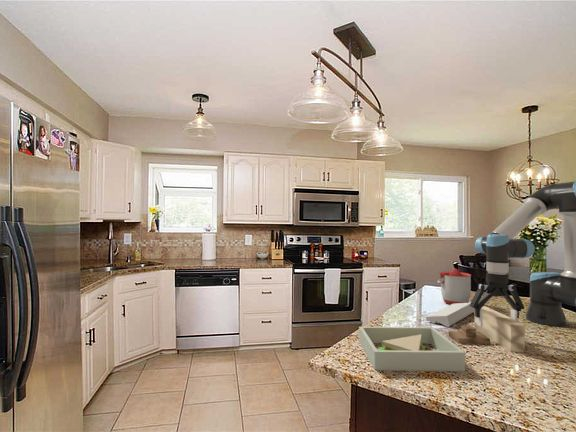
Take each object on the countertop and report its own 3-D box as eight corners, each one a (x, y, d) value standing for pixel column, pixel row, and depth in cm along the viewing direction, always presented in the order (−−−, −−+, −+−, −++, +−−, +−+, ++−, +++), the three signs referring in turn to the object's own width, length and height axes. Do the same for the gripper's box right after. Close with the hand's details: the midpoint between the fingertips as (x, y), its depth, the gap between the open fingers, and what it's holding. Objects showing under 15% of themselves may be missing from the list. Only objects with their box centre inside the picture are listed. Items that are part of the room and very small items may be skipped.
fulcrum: (477, 336, 131) (477, 323, 131) (490, 343, 123) (490, 330, 123) (448, 335, 131) (448, 323, 131) (458, 343, 123) (458, 330, 123)
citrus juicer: (433, 299, 190) (433, 265, 190) (464, 300, 188) (464, 266, 188) (442, 306, 175) (442, 270, 175) (476, 307, 172) (476, 270, 173)
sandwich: (448, 358, 111) (448, 343, 111) (411, 371, 101) (411, 355, 101) (411, 343, 124) (411, 330, 124) (375, 353, 114) (375, 339, 114)
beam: (486, 329, 139) (486, 306, 139) (524, 352, 115) (524, 324, 115) (474, 329, 140) (474, 306, 140) (510, 352, 116) (510, 324, 116)
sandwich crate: (432, 342, 124) (432, 327, 124) (465, 371, 100) (465, 352, 100) (359, 342, 124) (359, 326, 124) (374, 370, 100) (374, 351, 101)
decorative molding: (428, 327, 148) (450, 326, 141) (425, 316, 149) (447, 315, 142) (455, 312, 171) (475, 311, 164) (453, 303, 172) (472, 302, 165)
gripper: (521, 271, 131) (521, 323, 131) (460, 270, 132) (460, 322, 131) (535, 275, 124) (535, 329, 124) (471, 273, 124) (470, 328, 124)
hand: (496, 326), depth 127 cm, fingers open, 13 cm apart
